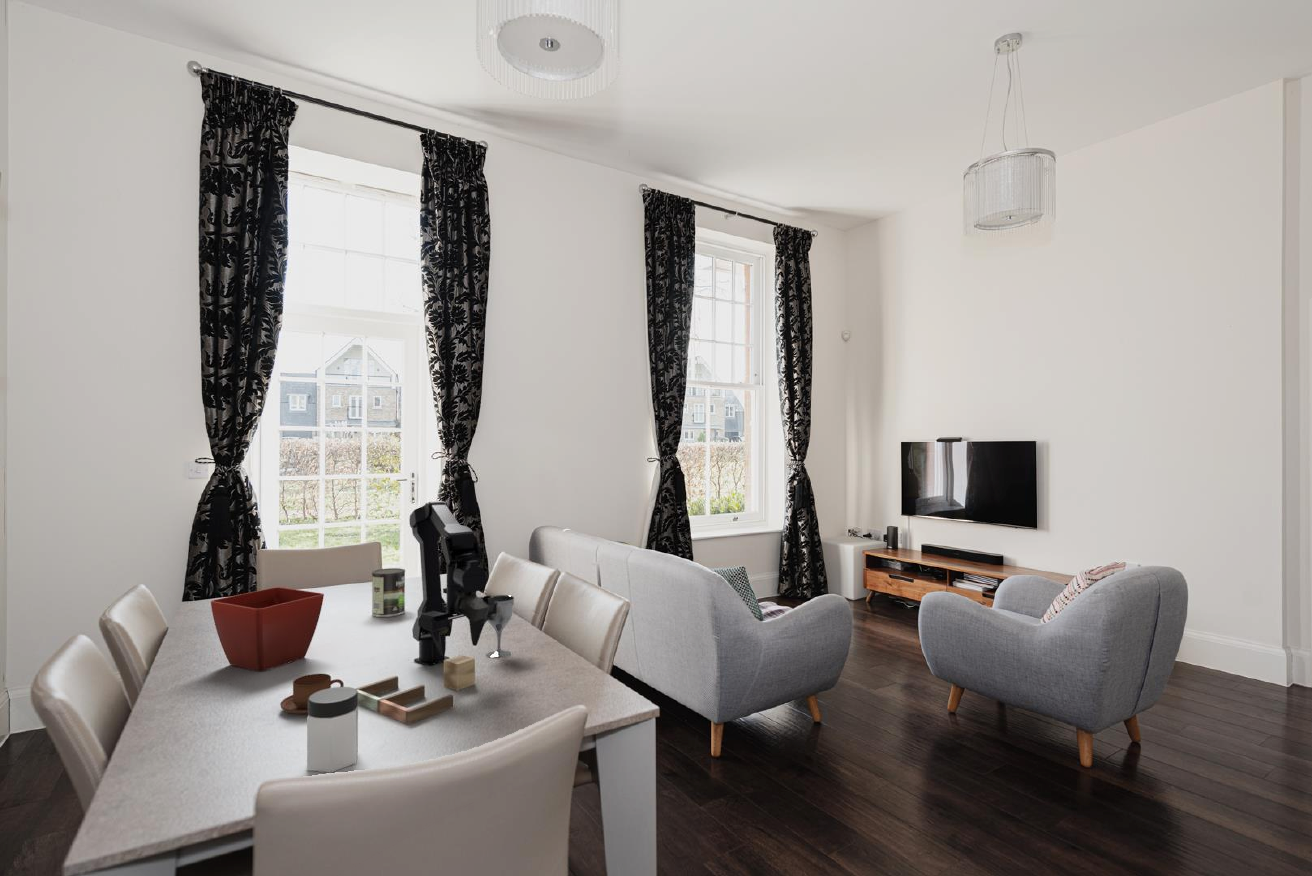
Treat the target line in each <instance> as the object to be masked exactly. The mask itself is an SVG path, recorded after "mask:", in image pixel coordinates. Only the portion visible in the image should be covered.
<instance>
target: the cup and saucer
mask: <svg viewBox="0 0 1312 876" xmlns="http://www.w3.org/2000/svg"><path fill="white" fill-rule="evenodd" d="M335 683H339V684H340V686H339V687H345V684H344V682H343V680H341V679H339V678H337V679H332V677H331V675H330V674H327V673H311V674H307V675H303V676H300V677H297V678H295V679H294V680H293V682H292V695H289V696H287V697H286V698H284V699H282V701H281V702H280V708H281V710H283V711H285V713H286V712H287V713H289V714H294V715H308V708H307V707H308V706H307V705H308V698H309V696H311V695H312V694H314V693H315V692H318V691H321V690H324V689H328V688H332V687H331V686H332V685H333V684H335Z"/></svg>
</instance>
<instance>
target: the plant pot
mask: <svg viewBox="0 0 1312 876" xmlns="http://www.w3.org/2000/svg"><path fill="white" fill-rule="evenodd" d="M324 596H325V594H324V593H323V592H322V593H320V592H315V591H309V590H307V591H306V590H301V589H294V588H293V589H292V588H288V587H281V586H278V587H271V588H265V589H261V590H256V591H252V592H251V591H250V592H247V593H242V594H236V595H231V596H227V597H222V598H221V597H220V598H216V599H213V600H211V601H210V606H211V613H212V618H213V622H214V626H215V629H216V633H217V636H218V640H219V643H220V644H221V647H222V649H223V652H224V655H225V656H226V659H227V661H228V663H229V665H231V666H236V667H240V668H244V669H248V670H250V671H251V670H252V671H257V672H263V671H268V670H271V669H275V668H276V667H281V666H283V665H287V664H289V663H293V662H296V661H298V660H301V659H305V657H306V655H307V653H308V651H309V648H310V646H311V644H312V641H313V638H314V635H315V633H316V629H317V627H318V623H319V619H320V615H321V612H322V607H323V603H324V602H323V601H324Z"/></svg>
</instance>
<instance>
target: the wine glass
mask: <svg viewBox="0 0 1312 876" xmlns="http://www.w3.org/2000/svg"><path fill="white" fill-rule="evenodd" d="M492 596H493V597H494V602H495V603H496V605H497V613H496V614H492V615H493V617H492V618H490V619H489V620H488V621H487V622H488V624H489V625H490V626H491V628H492V629H493V630H494V631H495V634H496V640H497V649H494V650H491V651H487V652H486V653H485V657H486V656H487V658H490V659H502V658H501V657H504V658H507V657H506V656H508V657H511V656H512V655H511V652H512V651H511V650H508V649H502V648H501V641H502V633H503V631H504V629H505V628H506V626H507V625H508V624H509V622H510V621H511V620H512V617H513V613H514V610H515V609H514V608H515V596H513V595H508V594H494V595H492Z"/></svg>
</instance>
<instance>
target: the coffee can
mask: <svg viewBox="0 0 1312 876" xmlns="http://www.w3.org/2000/svg"><path fill="white" fill-rule="evenodd" d="M405 574H406V570H405V568H399V567H395V568H391V567H389V568H382V569H381V568H380V569H376V570H373V571H372V572H371V575H372V576H371V577H372V579H371V583H372V584H371V587H372V590H371V593H372V594H371V595H372V597H371V599H372V602H371V603H372V604H371V605H372V611H371V615H372V616H373V617H376V618H389V617H391V618H392V617H397V616H400V614H401V615H403V614H405V612H406V611H405V610H406V608H405V607H406V606H405V605H406V604H405V603H406V601H405V599H406V598H405V597H406V596H405V595H406V594H405V593H406V591H405V590H406V589H405V587H406V585H405V583H406V582H405V581H406V579H405V578H406V577H405V576H406V575H405Z"/></svg>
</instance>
